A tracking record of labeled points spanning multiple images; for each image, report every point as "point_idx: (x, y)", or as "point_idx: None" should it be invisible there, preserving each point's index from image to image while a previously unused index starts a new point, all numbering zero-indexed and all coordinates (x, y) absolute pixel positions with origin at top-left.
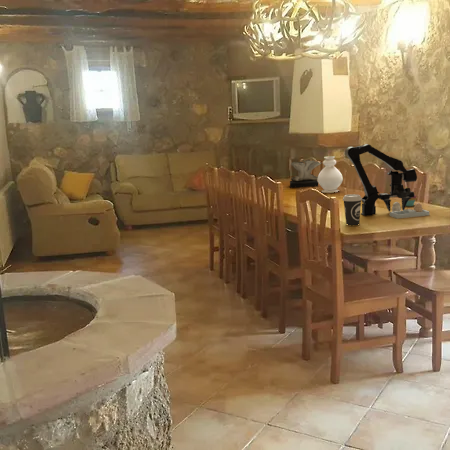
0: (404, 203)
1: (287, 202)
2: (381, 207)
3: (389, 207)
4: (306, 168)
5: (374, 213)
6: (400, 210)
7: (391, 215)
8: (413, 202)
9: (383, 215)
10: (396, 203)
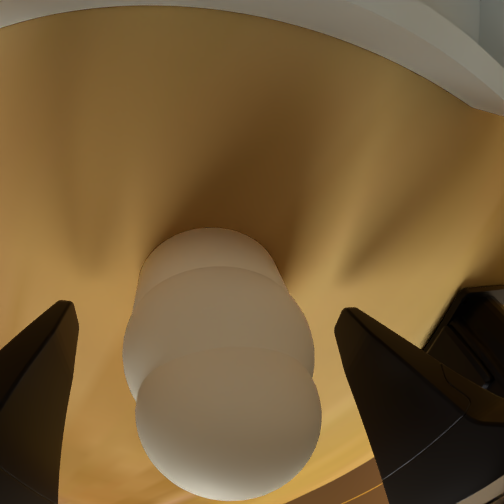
0: (8, 407)
1: (362, 494)
2: None
3: (407, 349)
4: None
5: (457, 318)
6: (153, 278)
7: (501, 64)
8: None
9: (445, 237)
10: (290, 444)
